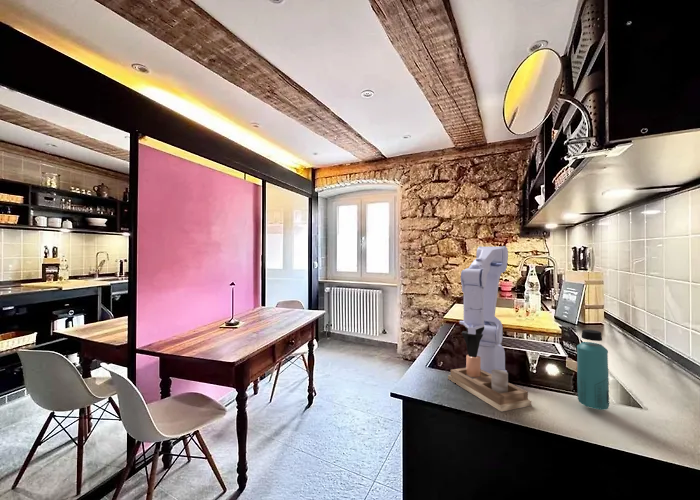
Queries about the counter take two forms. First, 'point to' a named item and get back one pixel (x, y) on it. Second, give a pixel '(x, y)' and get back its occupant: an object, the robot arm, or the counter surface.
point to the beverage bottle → (592, 372)
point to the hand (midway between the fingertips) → (473, 352)
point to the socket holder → (492, 389)
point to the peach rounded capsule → (473, 367)
